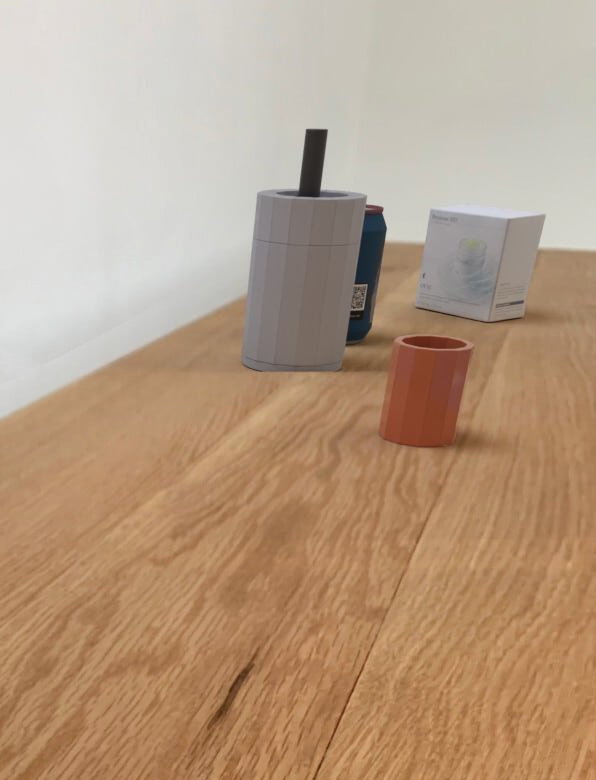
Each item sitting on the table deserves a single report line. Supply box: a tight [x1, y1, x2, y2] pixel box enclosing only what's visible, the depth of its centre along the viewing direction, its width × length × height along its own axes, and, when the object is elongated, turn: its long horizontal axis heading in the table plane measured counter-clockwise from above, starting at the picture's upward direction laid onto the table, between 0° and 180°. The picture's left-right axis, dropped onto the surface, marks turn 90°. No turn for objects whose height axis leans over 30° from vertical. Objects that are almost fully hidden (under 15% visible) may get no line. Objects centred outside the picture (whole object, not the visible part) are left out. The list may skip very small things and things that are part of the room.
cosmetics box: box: [414, 203, 547, 323], centre depth 121 cm, size 10×6×10 cm, turn 33°
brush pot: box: [378, 334, 476, 448], centre depth 78 cm, size 5×5×7 cm
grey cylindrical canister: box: [241, 188, 368, 373], centre depth 97 cm, size 9×9×14 cm
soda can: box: [345, 203, 388, 345], centre depth 108 cm, size 7×7×12 cm
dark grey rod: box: [298, 128, 329, 197], centre depth 96 cm, size 3×3×18 cm
